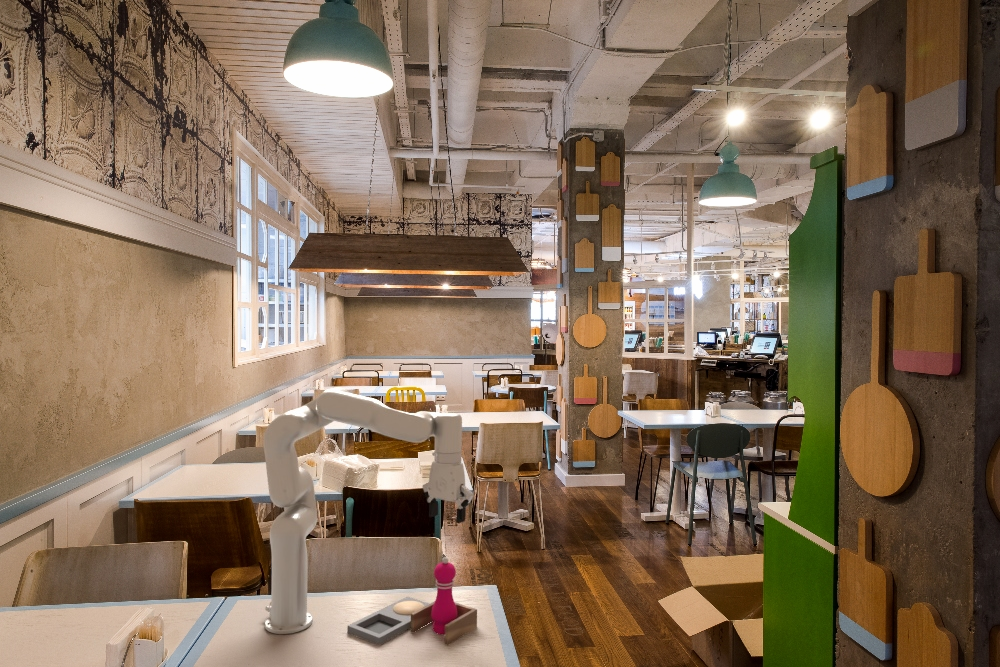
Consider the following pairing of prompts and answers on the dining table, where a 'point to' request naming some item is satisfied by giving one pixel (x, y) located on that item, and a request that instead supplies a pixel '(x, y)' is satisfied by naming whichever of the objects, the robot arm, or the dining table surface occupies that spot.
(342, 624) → the dining table surface
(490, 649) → the dining table surface
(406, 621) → the gray portable music player
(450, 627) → the wooden u-shaped frame
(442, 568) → the pepper mill
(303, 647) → the dining table surface
